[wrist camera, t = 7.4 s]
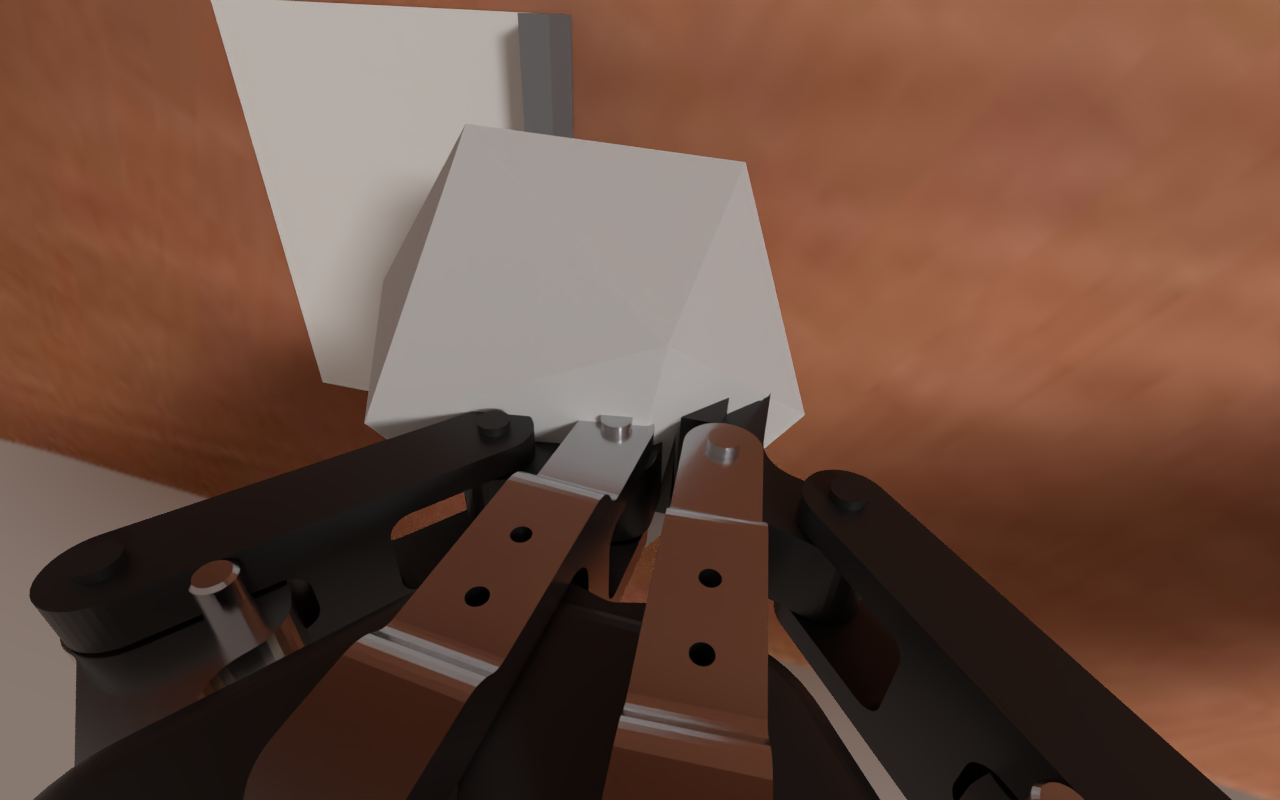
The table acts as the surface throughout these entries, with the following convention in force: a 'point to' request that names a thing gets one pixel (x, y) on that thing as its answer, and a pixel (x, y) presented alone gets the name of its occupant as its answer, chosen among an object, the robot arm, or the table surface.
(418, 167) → the white l-shaped plate
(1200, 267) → the table surface
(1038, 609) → the table surface
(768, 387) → the die
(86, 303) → the table surface
